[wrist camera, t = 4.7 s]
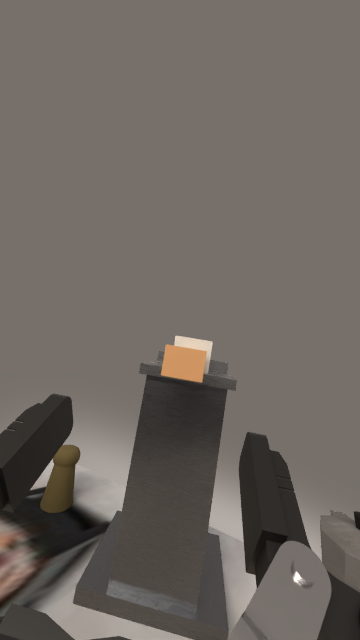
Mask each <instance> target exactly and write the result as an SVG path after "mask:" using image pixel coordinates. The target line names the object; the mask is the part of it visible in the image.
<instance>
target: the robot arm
mask: <svg viewBox="0 0 360 640" xmlns="http://www.w3.org/2000/svg"><path fill="white" fill-rule="evenodd" d="M72 427H73V414H72V401H71V398H70V397H68V396H63V395H58V394H52V395H50V396H49V397H48V398H47V399H46V400H45V401H44V402H43V403H42V404H40V403H38V404H36V405H34V406H32V407H30V408H29V409H27V410H25V411H24V412H23V413H22V414H21V415H20V416H19V417H18V418H17V419H16V421H15V422H13V423H12V424H10V425H9V426H8V428H7V430H4V431H3V432H2V433H1V434H0V512H1V511H2V510H5V511H9V512H12V513H13V512H14V511H15V510H16V508H17V507H18V506H19V504H20V503H21V501H22V500H23V499H24V497H25V496H26V494H27V493H28V492H29V490H30V489H31V488H32V486H33V485H34V483H35V482H36V481H37V479H38V478H39V476H40V475H41V474H42V472H43V471H44V470H45V468H46V467H47V465H48V464H49V463H50V461H51V460H52V458H53V457H54V456H55V454H56V453H57V452H58V450H59V449H60V447H61V446H62V445H63V443H64V442H65V440H66V439H67V438H68V436H69V435H70V433H71V430H72ZM239 478H240V494H241V508H242V522H243V536H244V551H245V565H246V572H247V573H251V574H254V575H256V584H257V590H256V592H255V594H254V596H253V597H252V599H251V601H250V603H249V605H248V607H247V608H246V610H245V612H244V613H243V614H242V616H241V617H240V619H239V621H238V623H237V624H236V626H235V628H234V630H233V632H232V633H231V635H230V637H229V639H228V640H360V592H358V591H356V590H355V589H353V588H352V587H350V586H348V585H347V584H345V583H344V582H342V581H340V580H339V579H337V578H336V577H334V576H333V575H332V574H331V573H330V572H328V571H327V570H326V568H325V566H324V565H323V563H322V562H321V560H320V559H319V558H318V556H317V555H316V554H315V553H314V552H313V551H312V550H311V547H310V545H309V543H308V540H307V536H306V532H305V529H304V525H303V522H302V518H301V514H300V511H299V507H298V503H297V500H296V496H295V493H294V489H293V485H292V481H291V478H290V474H289V470H288V466H287V464H286V462H285V461H284V459H283V458H282V456H281V455H280V453H279V452H276V451H271V450H270V449H269V444H268V440H267V437H266V435H260V434H256V433H251V432H248V433H247V434H246V438H245V442H244V445H243V449H242V452H241V456H240V462H239ZM0 640H75V639H73V638H72V637H71V636H70V635H69V634H68V633H66V632H65V631H64V630H63V629H62V628H61V627H60V626H59V625H58V624H57V623H55V622H54V621H53V620H52V619H51V618H50V617H49V616H48V615H47V614H45V613H42V612H39V611H35V610H32V609H29V608H26V607H22V606H19V605H16V604H13V603H12V604H11V605H10V607H9V609H8V611H7V613H6V614H5V616H3V617H0ZM92 640H130V639H127V638H124V637H120V636H117V637H109V638H100V639H92Z"/></svg>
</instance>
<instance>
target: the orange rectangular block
mask: <svg viewBox="0 0 360 640" xmlns="http://www.w3.org/2000/svg"><path fill="white" fill-rule="evenodd" d="M212 343H213V342H211V341H205V340H199V339H193V338H187V337H181V336H176V338H175V344H174V346H172V345H167V344H166V349H165V354H164V360H163V365H162V371H161V375H162V376H168V377H173V378H179V379H184V380H190V381H195V382H201V383H202V380H203V373H208V370H209V363H210V356H211V350H212Z"/></svg>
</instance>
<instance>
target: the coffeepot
mask: <svg viewBox="0 0 360 640" xmlns="http://www.w3.org/2000/svg"><path fill="white" fill-rule="evenodd" d="M330 512H331V515H332V516H321V520H320V530H321V548H322V563H323V565H324V566H325V568H326V570H327V571H328V572H330V573H331V574H332V575H333V576H334V577H336V578H337V579H339V580H340V581H342V582H344V583H345V584H347V585H348V586H350V587H352V588H353V589H355V590H356V591H358V592H360V512H354V517H355V521H354V520H352V519H351V518H349V517H348V516H347V515H345V514H342V513H341V512H333V511H332V510H330Z"/></svg>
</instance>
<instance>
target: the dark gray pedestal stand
mask: <svg viewBox="0 0 360 640" xmlns="http://www.w3.org/2000/svg"><path fill="white" fill-rule="evenodd" d="M164 354H165V352H161V351H159V354H158V360H157V361H154V362H145V363H141V365H140V371H139V373H141V374H147V377H146V383H145V388H144V394H143V399H142V405H141V410H140V416H139V421H138V427H137V432H136V437H135V443H134V448H133V454H132V459H131V465H130V470H129V475H128V481H127V486H126V492H125V497H124V503H123V508H122V512H121V511H117V512H116V514H115V516H114V518H113V520H112V521H111V523H110V525H109V527H108V529H107V531H106V532H105V534H104V536H103V538H102V540H101V542H100V543H99V545H98V547H97V549H96V551H95V553H94V555H93V556H92V558H91V560H90V562H89V564H88V566H87V567H86V569H85V571H84V573H83V575H82V577H81V579H80V580H79V582H78V584H77V586H76V590H75V596H74V601H73V603H74V604H77V605H80V606H84V607H87V608H90V609H94V610H97V611H100V612H104V613H107V614H111V615H114V616H117V617H121V618H124V619H127V620H131V621H134V622H137V623H141V624H144V625H147V626H151V627H154V628H158V629H161V630H164V631H168V632H171V633H174V634H178V635H181V636H184V637H188V638H191V639H194V640H227V637H228V622H227V612H226V602H225V592H224V582H223V572H222V562H221V552H220V542H219V536H218V535H214V534H210V533H207V532H208V525H209V518H210V511H211V503H212V497H213V488H214V482H215V475H216V467H217V461H218V453H219V446H220V439H221V432H222V424H223V417H224V410H225V402H226V396H227V389H228V390H233V391H235V390H236V383H237V380H236V379H234V378H233V377H232V376H230V375H228V374H227V369H228V363H225V362H219V361H213V360H210V363H209V370H208V373H203V380H202V383H201V382H195V381H190V380H184V379H179V378H173V377H168V376H162V375H161V371H162V365H163V360H164Z"/></svg>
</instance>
